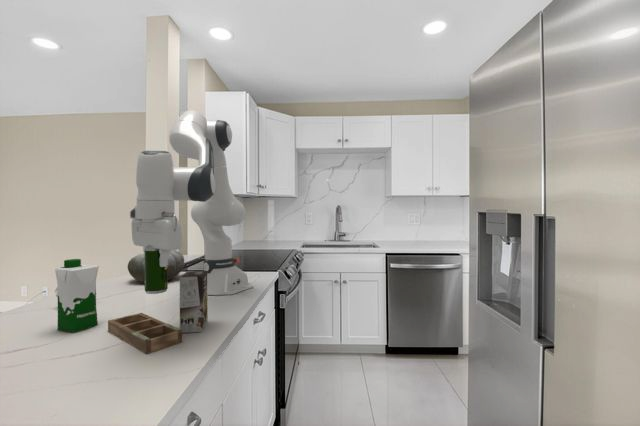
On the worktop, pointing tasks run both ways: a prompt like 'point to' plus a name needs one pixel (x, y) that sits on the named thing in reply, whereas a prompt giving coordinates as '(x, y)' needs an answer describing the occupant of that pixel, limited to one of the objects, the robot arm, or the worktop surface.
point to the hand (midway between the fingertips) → (156, 265)
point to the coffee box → (193, 301)
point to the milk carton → (76, 296)
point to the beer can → (154, 272)
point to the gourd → (138, 266)
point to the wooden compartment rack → (145, 332)
